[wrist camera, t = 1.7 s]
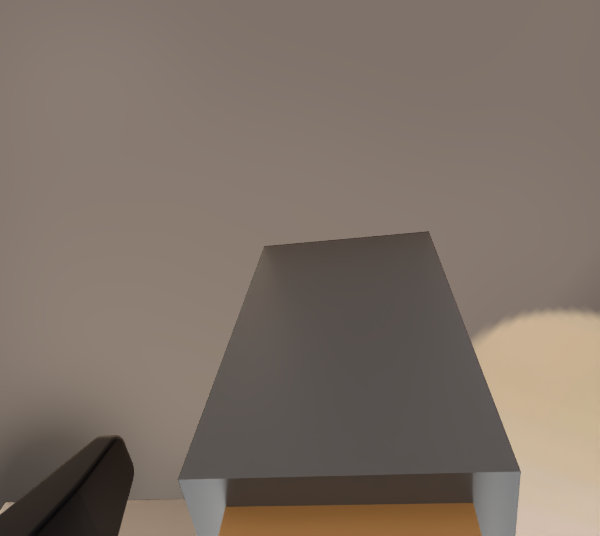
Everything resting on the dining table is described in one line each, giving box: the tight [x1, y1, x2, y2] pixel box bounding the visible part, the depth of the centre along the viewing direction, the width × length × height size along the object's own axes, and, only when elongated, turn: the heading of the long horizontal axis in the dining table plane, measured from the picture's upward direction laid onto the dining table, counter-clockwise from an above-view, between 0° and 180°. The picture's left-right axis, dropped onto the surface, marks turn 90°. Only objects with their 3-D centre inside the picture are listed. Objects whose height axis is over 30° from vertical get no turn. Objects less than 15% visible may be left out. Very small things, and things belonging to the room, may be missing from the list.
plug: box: [178, 232, 521, 536], centre depth 9 cm, size 4×4×8 cm
